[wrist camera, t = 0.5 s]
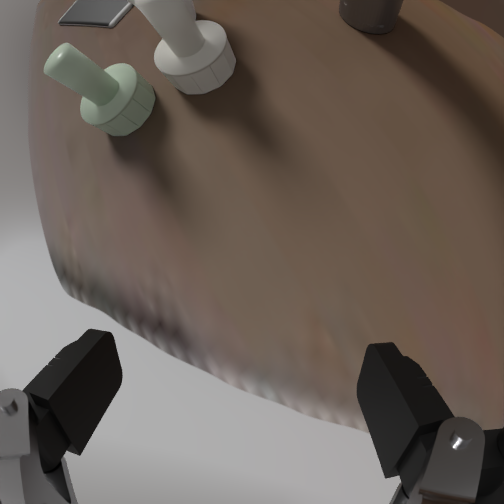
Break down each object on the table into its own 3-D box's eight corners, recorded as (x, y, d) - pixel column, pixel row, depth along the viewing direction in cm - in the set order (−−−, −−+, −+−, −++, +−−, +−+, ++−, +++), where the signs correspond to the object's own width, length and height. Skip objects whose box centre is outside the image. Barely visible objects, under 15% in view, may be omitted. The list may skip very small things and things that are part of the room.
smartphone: (114, 29, 39) (110, 25, 37) (59, 25, 43) (56, 23, 41) (154, -12, 38) (151, -17, 36) (91, -10, 41) (88, -13, 39)
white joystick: (181, 46, 36) (132, -21, 19) (241, 42, 34) (210, -39, 17) (164, 96, 36) (98, 34, 20) (229, 95, 35) (183, 14, 18)
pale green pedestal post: (113, 84, 38) (49, 37, 21) (162, 78, 36) (102, 14, 20) (96, 138, 38) (19, 102, 22) (146, 136, 37) (67, 86, 20)
